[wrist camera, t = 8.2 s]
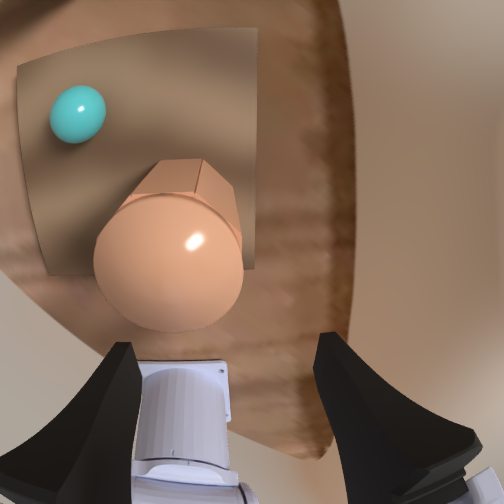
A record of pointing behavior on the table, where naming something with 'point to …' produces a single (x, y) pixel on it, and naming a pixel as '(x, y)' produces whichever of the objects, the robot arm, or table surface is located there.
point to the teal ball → (77, 114)
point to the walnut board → (137, 130)
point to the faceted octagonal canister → (173, 249)
